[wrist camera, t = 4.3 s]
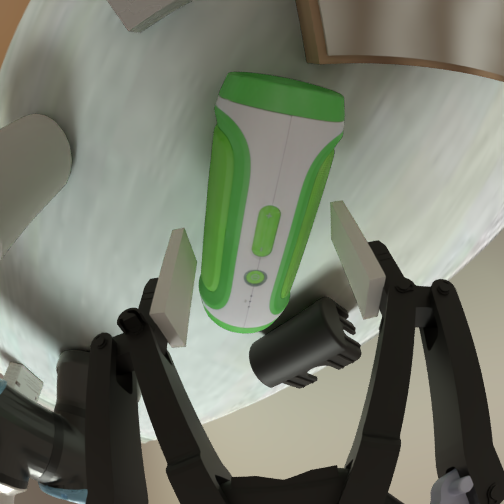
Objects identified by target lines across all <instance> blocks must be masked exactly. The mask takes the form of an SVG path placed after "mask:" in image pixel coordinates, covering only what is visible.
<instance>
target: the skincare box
mask: <svg viewBox="0 0 504 504" xmlns="http://www.w3.org/2000/svg"><path fill="white" fill-rule="evenodd" d="M3 380H5V381H7V384H9V385H10V386H12V387H13V388H15V389H16V390H18V391H19V392H21V393H22V394H24V395H25V396H27V397H28V398H30V399H32V400H33V401H35V402H37V401H38V398H39V395H40V393H41V390H42V387H43V382H42V381H40V380H39V379H38V378H37V377H36V376H35V375H33V374H32V373H31V372H30V371H29V370H28V369H27V368H26V367H25V366H24V365H21V364H17V363H12V362H10V364H9V366H8V369H7V371H6V373H5V375H4V378H3Z"/></svg>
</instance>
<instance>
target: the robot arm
mask: <svg viewBox="0 0 504 504" xmlns="http://www.w3.org/2000/svg"><path fill="white" fill-rule="evenodd" d="M330 206H331V240H332V242H333V244H334V247H335V249H336V251H337V254H338V256H339V258H340V261H341V263H342V266H343V268H344V270H345V273H346V275H347V278H348V280H349V283H350V285H351V288H352V291H353V293H354V296H355V298H356V301H357V304H358V306H359V309H360V312H361V314H362V317H363V320H364V319H368V318H373V317H377V316H378V313H379V309H380V312H381V314H382V319H381V323H380V327H379V330H380V331H379V337H378V343H377V349H376V355H375V360H374V364H373V369H372V374H371V379H370V384H369V387H368V392H367V396H366V400H365V404H364V408H363V411H362V415H361V419H360V422H359V426H358V429H357V433H356V436H355V440H354V443H353V446H352V448H351V451H350V453H349V456H348V458H347V462H346V464H345V467H344V468H337V465H336V466H331V467H325V468H320V469H314V470H310V471H307V472H305V473H302V474H299V475H297V476H294V477H291V478H288V479H285V480H280V479H273V478H265V477H259V476H249V477H232V476H231V474H230V473H229V472H228V470H227V469H226V468H225V466H224V465H223V464H222V462H221V461H220V459H219V457H218V456H217V454H216V452H215V450H214V448H213V446H212V444H211V442H210V440H209V439H208V437H207V435H206V433H205V431H204V429H203V427H202V425H201V423H200V421H199V419H198V417H197V415H196V412H195V410H194V408H193V406H192V404H191V402H190V400H189V398H188V395H187V393H186V391H185V389H184V386H183V384H182V382H181V380H180V377H179V375H178V373H177V370H176V368H175V366H174V363H173V361H172V358H171V356H170V353H169V352H168V350H167V343H169V344H170V346H171V347H172V348H176V347H186V340H187V331H188V323H189V315H190V308H191V300H192V293H193V286H194V279H195V272H196V266H197V260H196V258H195V255H194V252H193V250H192V247H191V245H190V242H189V239H188V237H187V234H186V231H185V228H180V229H175V230H172V234H171V237H170V240H169V243H168V247H167V250H166V254H165V257H164V260H163V264H162V267H161V271H160V275H159V278H154V279H150V280H149V281H148V283H147V284H146V285H145V288H144V291H143V295H142V298H141V301H140V305H139V308H138V309H137V308H129V309H127V310H125V311H124V312H122V313H121V314H120V316H119V317H118V320H117V325H118V326H119V327H120V329H121V330H122V331H123V334H120V335H117V336H115V337H112V336H111V335H110V334H108V333H101V334H99V335H97V336H96V337H95V338H94V339H93V341H92V343H91V348H90V352H86V351H81V350H67V351H64V352H62V353H61V354H60V357H59V360H58V363H57V366H56V370H57V374H58V376H57V401H56V405H55V409H54V412H52V411H50V410H48V409H47V408H45V407H43V406H42V405H40V404H38V403H37V402H35V401H33V400H32V399H30V398H28V397H27V396H25V395H24V394H22V393H21V392H19V391H18V390H16V389H15V388H13V387H12V386H10V385H9V384H7V381H5V380H2V379H0V504H14V496H15V495H16V494H17V493H21V492H24V491H26V490H27V485H28V481H29V478H32V479H34V480H37V481H38V484H39V487H40V489H41V490H42V491H43V492H45V493H47V494H49V495H51V496H54V497H57V498H60V499H64V500H68V501H71V502H75V503H79V504H148V494H147V487H146V480H145V474H144V466H143V458H142V449H141V440H140V429H139V416H138V401H139V400H140V397H141V394H142V397H143V400H144V403H145V406H146V409H147V412H148V415H149V417H150V420H151V423H152V426H153V428H154V431H155V434H156V436H157V439H158V441H159V444H160V446H161V449H162V451H163V454H164V456H165V458H166V461H167V468H166V473H167V476H168V479H169V481H170V483H171V485H172V487H173V489H174V492H175V494H176V496H177V498H178V500H179V502H180V504H404V503H402V502H401V501H399V500H398V499H397V498H395V497H394V496H392V495H391V494H389V493H388V490H389V487H390V484H391V481H392V477H393V474H394V471H395V467H396V463H397V460H398V456H399V452H400V447H401V440H400V432H401V428H402V423H403V418H404V413H405V407H406V401H407V396H408V389H409V382H410V375H411V367H412V357H413V346H414V334H415V327H419V329H420V334H421V339H422V344H423V349H424V354H425V360H426V365H427V372H428V379H429V386H430V393H431V401H432V411H433V422H434V437H435V457H436V468H437V474H438V478H439V479H438V480H437V481H436V482H435V483H434V485H433V487H432V489H431V503H430V504H500V503H501V502H502V501H503V500H504V470H503V468H502V465H501V463H500V460H499V458H498V455H497V453H496V451H495V448H494V446H493V442H492V432H491V423H490V416H489V409H488V404H487V398H486V393H485V387H484V382H483V378H482V373H481V369H480V365H479V362H478V357H477V353H476V349H475V346H474V342H473V339H472V336H471V332H470V329H469V326H468V323H467V320H466V317H465V314H464V311H463V308H462V305H461V302H460V300H459V297H458V294H457V292H456V289H455V287H454V286H453V284H452V283H450V282H449V281H447V280H444V279H438V280H435V281H434V282H433V283H432V286H431V287H425V286H416V285H415V284H414V283H413V282H412V281H411V280H409V279H407V278H404V276H403V274H402V273H401V271H400V269H399V267H398V266H397V264H396V262H395V261H394V259H393V257H392V256H391V254H390V253H389V251H388V249H387V247H386V246H385V245H384V244H383V243H381V242H380V241H379V240H378V241H372V242H367V241H366V239H365V237H364V235H363V234H362V232H361V230H360V229H359V227H358V225H357V223H356V222H355V220H354V218H353V217H352V215H351V213H350V212H349V210H348V209H347V207H346V205H345V204H344V202H343V201H335V202H330Z"/></svg>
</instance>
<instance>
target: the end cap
mask: <svg viewBox="0 0 504 504" xmlns="http://www.w3.org/2000/svg"><path fill="white" fill-rule="evenodd" d="M348 316H349V315H348V312H347V311H346V310H345V309H344V308H342V307H341V306H340V305H338V304H337V303H335V301H333V300H332V299H330V298H327V297H324V298H321V299H320V300H318V301H317V302H315V303H314V304H312V305H311V306H310V307H308V308H307V309H305V310H304V311H302V312H301V313H299V314H298V315H296V316H295V317H293V318H292V319H290V320H288V321H287V322H285V323H284V324H282V325H281V326H279V327H278V328H276V329H275V330H273V331H271V332H270V333H268V334H267V335H265V336H263V337H262V338H260V339H259V340H257V341H255V342H254V343H253V344H252V346H251V348H250V351H249V360H250V364H251V367H252V370H253V372H254V373H255V375H256V376H257V378H258V379H259V380H260V381H261V382H262V383H263V384H265V385H266V386H268V387H270V388H272V387H274V386H276V385H279V384H281V383H284V384H287V385H290V386H293V387H296V388H302V387H303V388H304V387H305V386H306V385H309V384H311V383H314V382H315V381H317V377H316V376H313V375H311V374H308V373H307V372H308V371H309V370H311V369H312V368H315V367H318V366H324V365H326V366H331V367H334V368H336V369H338V370H339V369H341V368H344V367H345V366H347V365H348V364H351V363H353V362H354V361H356V360H358V359H359V358H360V357H361V350H360V346H361V345H360V344H359V343H358V342H356V341H355V340H353V339H351V338H350V337H348V336H347V335H346V334H345V333H344V331H343V330H345V331H347V332H349V333H350V334H352V335H354V334H356V332H355V327H354V326H353V324H352V323H351V322H349V321H348V320H346V319H347V318H348Z"/></svg>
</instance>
